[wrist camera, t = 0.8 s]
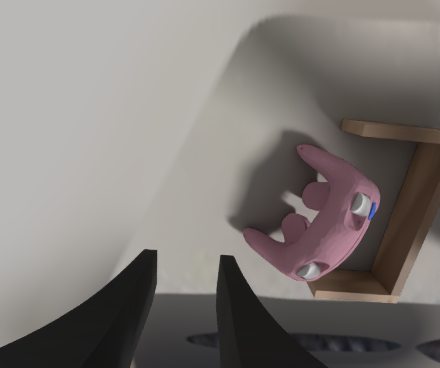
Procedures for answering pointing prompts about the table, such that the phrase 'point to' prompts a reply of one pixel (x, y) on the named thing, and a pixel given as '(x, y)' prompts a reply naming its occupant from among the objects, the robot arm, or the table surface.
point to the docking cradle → (393, 221)
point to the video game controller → (321, 220)
